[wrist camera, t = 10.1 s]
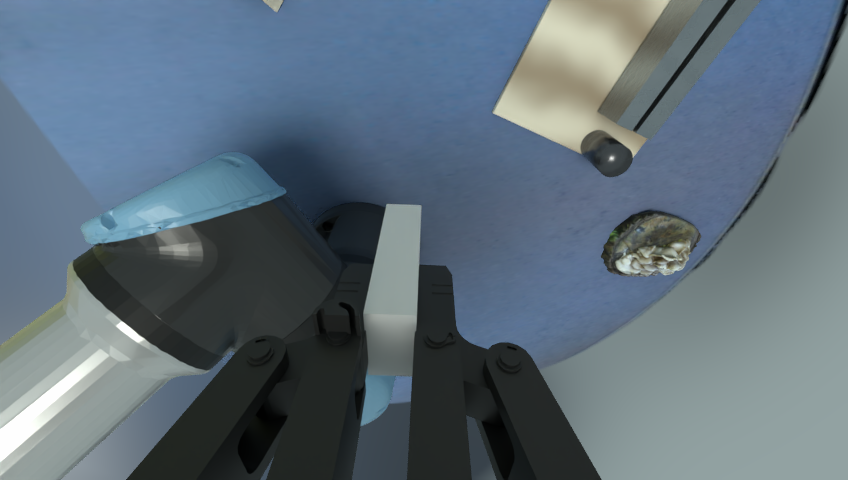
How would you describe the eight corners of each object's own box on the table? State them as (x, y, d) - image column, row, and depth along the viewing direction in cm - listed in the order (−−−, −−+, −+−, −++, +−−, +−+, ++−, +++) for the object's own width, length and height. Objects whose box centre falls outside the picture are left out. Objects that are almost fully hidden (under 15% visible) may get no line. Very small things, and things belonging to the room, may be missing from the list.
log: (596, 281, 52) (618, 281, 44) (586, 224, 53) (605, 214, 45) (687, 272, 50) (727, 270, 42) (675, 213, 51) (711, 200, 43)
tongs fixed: (602, 164, 41) (622, 183, 37) (574, 151, 40) (591, 169, 36) (780, -76, 29) (840, -90, 25) (746, -101, 29) (802, -120, 24)
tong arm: (612, 118, 38) (632, 131, 34) (596, 111, 38) (615, 123, 34) (759, -94, 29) (810, -109, 25) (740, -107, 28) (789, -124, 24)
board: (618, 169, 42) (621, 172, 41) (491, 111, 39) (493, 113, 38) (799, -66, 30) (808, -68, 30) (641, -180, 27) (646, -185, 26)
